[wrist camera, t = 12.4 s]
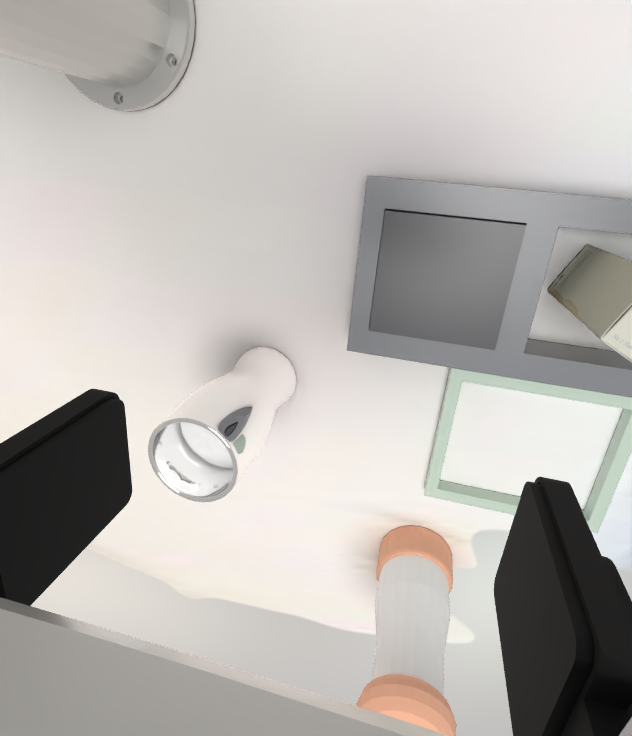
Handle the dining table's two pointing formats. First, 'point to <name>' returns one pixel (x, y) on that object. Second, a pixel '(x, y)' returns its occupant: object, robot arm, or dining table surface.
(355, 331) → the socket strip
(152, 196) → the dining table surface
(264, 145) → the dining table surface
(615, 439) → the tray
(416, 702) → the salt shaker
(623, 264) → the skincare box
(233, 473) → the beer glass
